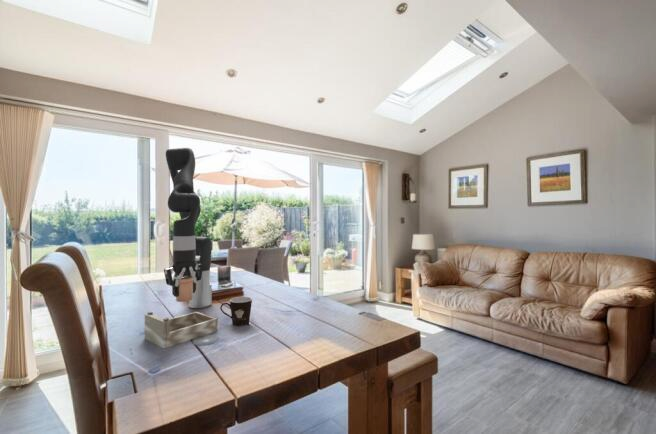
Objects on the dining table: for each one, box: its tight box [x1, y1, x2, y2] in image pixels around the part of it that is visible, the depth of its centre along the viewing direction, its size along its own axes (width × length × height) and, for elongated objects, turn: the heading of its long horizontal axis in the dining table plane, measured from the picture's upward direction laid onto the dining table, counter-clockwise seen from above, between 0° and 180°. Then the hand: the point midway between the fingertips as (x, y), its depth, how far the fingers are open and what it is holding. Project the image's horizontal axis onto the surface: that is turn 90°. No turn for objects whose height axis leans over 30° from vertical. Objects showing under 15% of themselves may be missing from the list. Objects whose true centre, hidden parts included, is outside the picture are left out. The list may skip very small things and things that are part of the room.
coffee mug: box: [220, 296, 253, 327], centre depth 125 cm, size 12×9×10 cm
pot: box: [175, 276, 194, 303], centre depth 113 cm, size 6×6×8 cm
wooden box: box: [144, 311, 219, 349], centre depth 112 cm, size 20×14×10 cm
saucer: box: [192, 334, 220, 346], centre depth 107 cm, size 8×8×1 cm
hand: (184, 294), depth 113 cm, fingers closed on pot, 5 cm apart
